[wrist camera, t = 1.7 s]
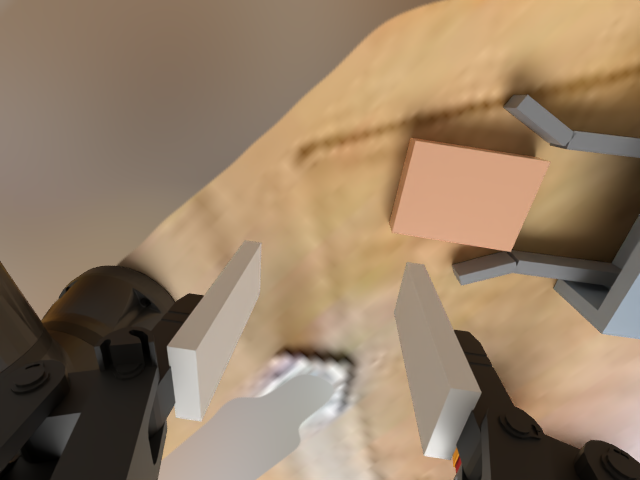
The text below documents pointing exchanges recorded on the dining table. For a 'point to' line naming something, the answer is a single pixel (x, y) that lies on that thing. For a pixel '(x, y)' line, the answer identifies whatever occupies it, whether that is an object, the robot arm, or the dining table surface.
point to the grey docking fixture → (575, 274)
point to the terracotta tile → (465, 194)
